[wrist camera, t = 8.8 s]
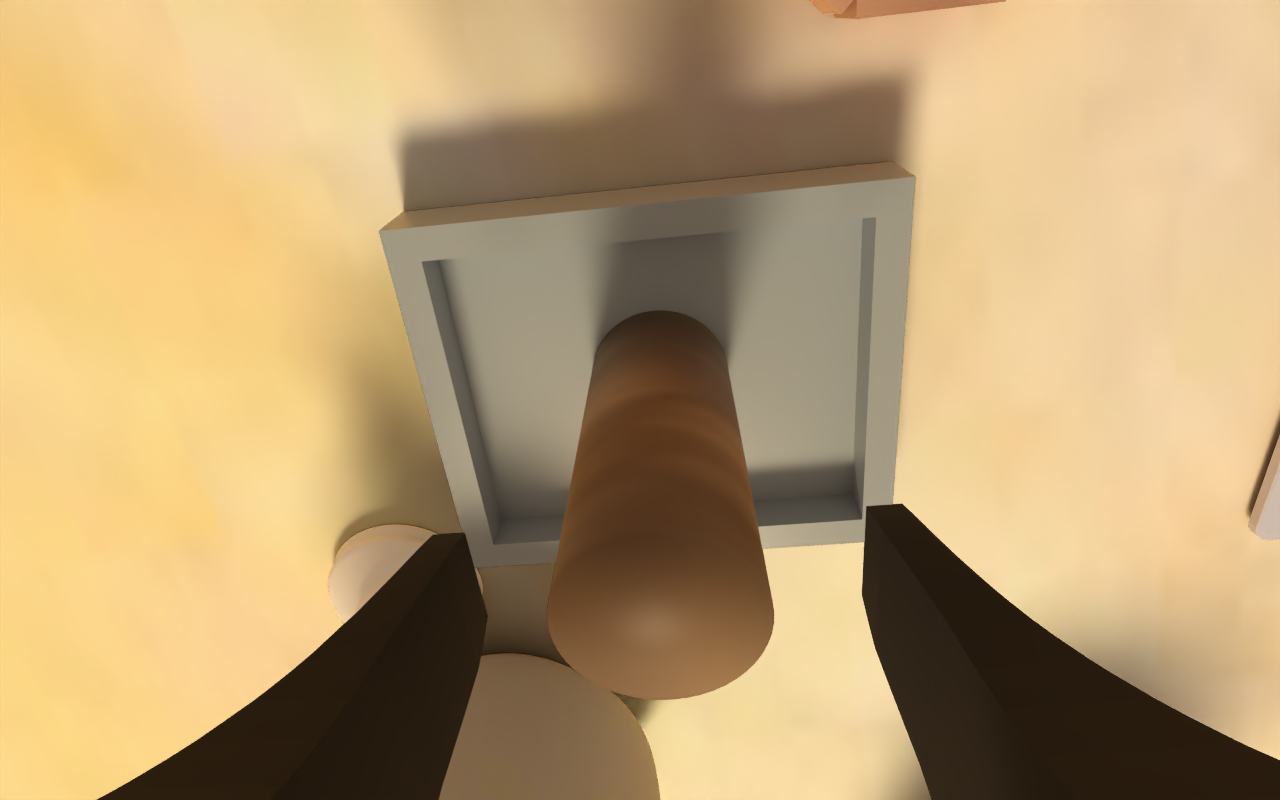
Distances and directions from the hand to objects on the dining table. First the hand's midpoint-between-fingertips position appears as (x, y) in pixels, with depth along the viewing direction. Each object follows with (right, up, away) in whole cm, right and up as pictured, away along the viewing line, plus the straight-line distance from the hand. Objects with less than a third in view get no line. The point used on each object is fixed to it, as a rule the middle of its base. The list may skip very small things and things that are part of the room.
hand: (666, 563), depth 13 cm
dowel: (0, +4, +6) cm, 7 cm away
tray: (0, +4, +7) cm, 8 cm away
